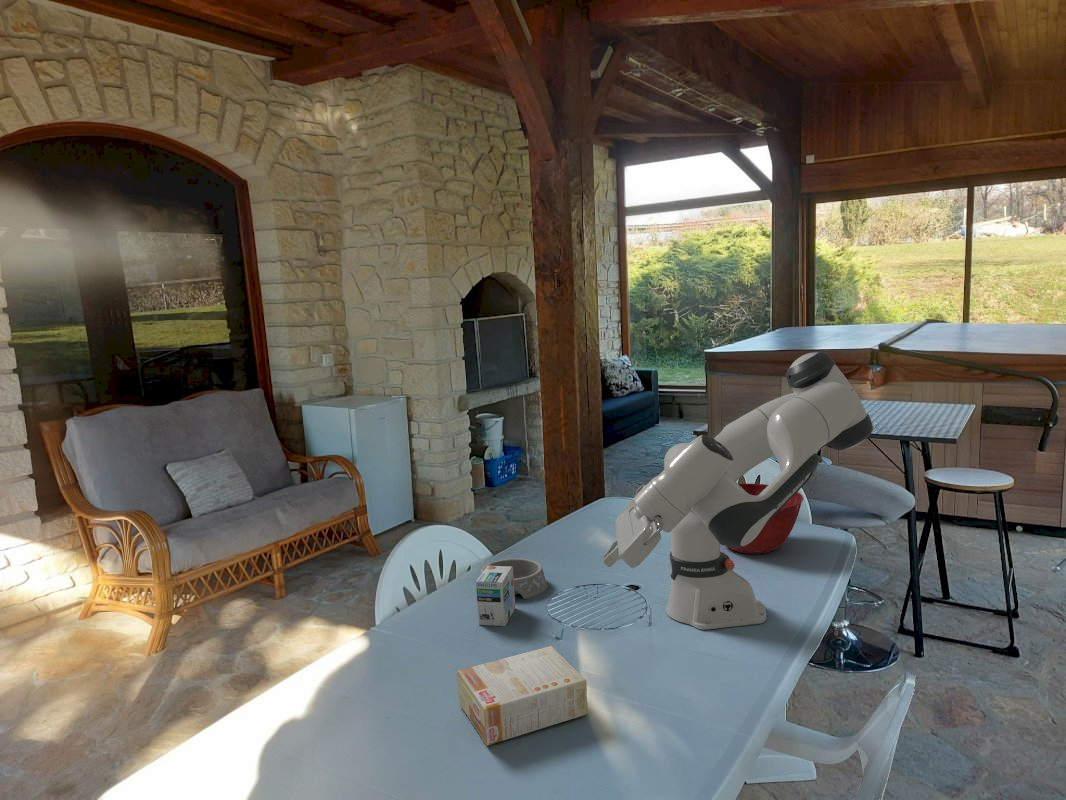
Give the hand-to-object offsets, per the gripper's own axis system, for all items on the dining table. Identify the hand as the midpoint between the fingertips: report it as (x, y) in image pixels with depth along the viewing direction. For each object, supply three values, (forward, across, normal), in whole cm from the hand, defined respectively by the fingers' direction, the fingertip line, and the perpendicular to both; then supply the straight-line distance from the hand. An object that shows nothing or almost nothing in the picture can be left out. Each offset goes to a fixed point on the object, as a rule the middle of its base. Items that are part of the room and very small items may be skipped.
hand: (605, 562), depth 136 cm
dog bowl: (+36, +52, -2) cm, 64 cm away
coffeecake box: (+21, -2, -10) cm, 23 cm away
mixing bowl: (-11, +79, -49) cm, 94 cm away
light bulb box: (+37, +34, 0) cm, 51 cm away
